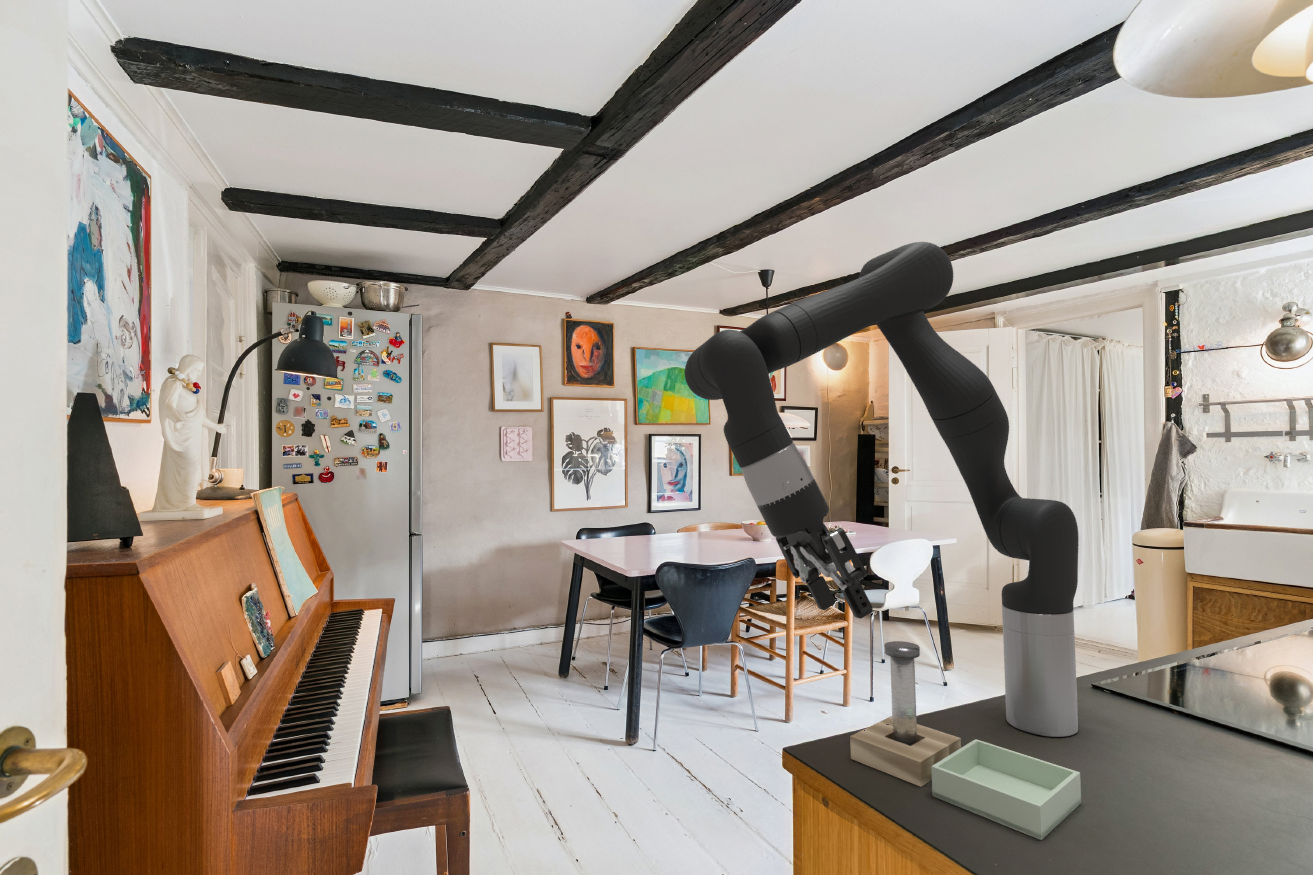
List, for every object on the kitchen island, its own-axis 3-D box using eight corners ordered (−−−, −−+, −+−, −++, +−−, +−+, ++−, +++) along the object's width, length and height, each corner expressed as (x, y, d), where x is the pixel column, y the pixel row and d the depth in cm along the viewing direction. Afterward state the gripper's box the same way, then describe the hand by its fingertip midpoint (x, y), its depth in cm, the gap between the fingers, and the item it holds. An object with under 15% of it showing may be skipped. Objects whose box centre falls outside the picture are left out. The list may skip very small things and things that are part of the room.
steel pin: (899, 749, 91) (896, 639, 92) (930, 760, 88) (926, 645, 88) (881, 759, 89) (877, 645, 89) (912, 771, 85) (908, 653, 86)
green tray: (976, 766, 86) (975, 738, 86) (1081, 802, 77) (1080, 772, 77) (932, 795, 79) (931, 766, 79) (1041, 840, 70) (1040, 806, 70)
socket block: (892, 736, 95) (891, 715, 95) (961, 760, 88) (960, 737, 88) (850, 758, 89) (850, 735, 89) (921, 786, 81) (920, 761, 81)
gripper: (838, 469, 74) (905, 601, 74) (784, 479, 88) (840, 590, 87) (783, 500, 72) (852, 635, 72) (736, 505, 86) (794, 618, 85)
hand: (845, 610), depth 80 cm, fingers open, 8 cm apart
